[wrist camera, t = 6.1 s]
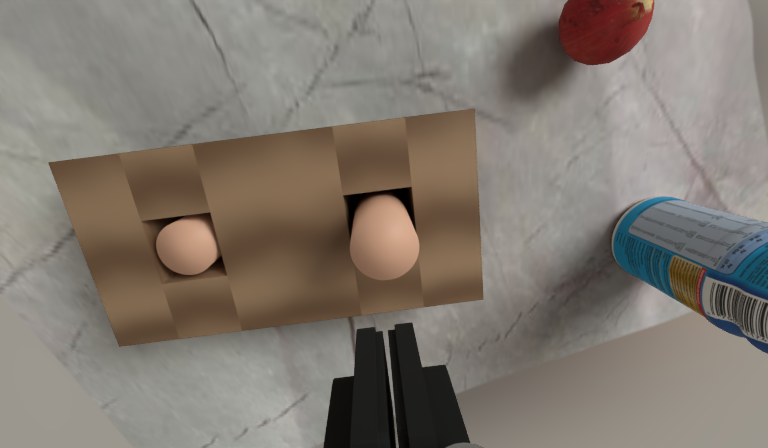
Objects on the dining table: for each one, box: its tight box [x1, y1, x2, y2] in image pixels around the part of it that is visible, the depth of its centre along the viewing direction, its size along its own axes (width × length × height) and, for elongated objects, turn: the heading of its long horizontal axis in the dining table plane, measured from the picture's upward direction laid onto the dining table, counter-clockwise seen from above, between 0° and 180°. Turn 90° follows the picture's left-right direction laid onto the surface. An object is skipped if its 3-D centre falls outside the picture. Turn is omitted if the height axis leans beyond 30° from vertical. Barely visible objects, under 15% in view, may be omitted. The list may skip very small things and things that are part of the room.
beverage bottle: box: [611, 196, 768, 353], centre depth 25 cm, size 8×8×20 cm
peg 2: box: [350, 190, 419, 280], centre depth 24 cm, size 4×4×8 cm
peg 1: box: [156, 212, 222, 275], centre depth 29 cm, size 4×4×8 cm
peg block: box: [49, 109, 483, 347], centre depth 29 cm, size 14×28×8 cm, turn 97°
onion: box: [559, 0, 654, 65], centre depth 26 cm, size 6×6×8 cm
